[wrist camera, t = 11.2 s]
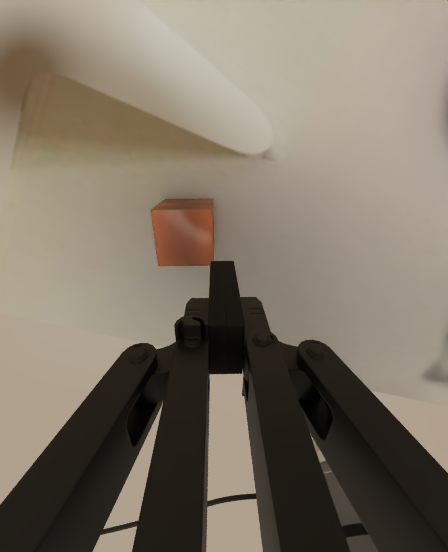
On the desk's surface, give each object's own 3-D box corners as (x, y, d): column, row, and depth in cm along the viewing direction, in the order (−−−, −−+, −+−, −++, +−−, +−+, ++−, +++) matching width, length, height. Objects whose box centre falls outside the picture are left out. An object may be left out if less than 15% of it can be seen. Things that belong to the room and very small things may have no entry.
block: (170, 245, 27) (158, 266, 21) (164, 199, 24) (150, 209, 19) (214, 244, 27) (213, 265, 21) (213, 198, 24) (212, 209, 19)
